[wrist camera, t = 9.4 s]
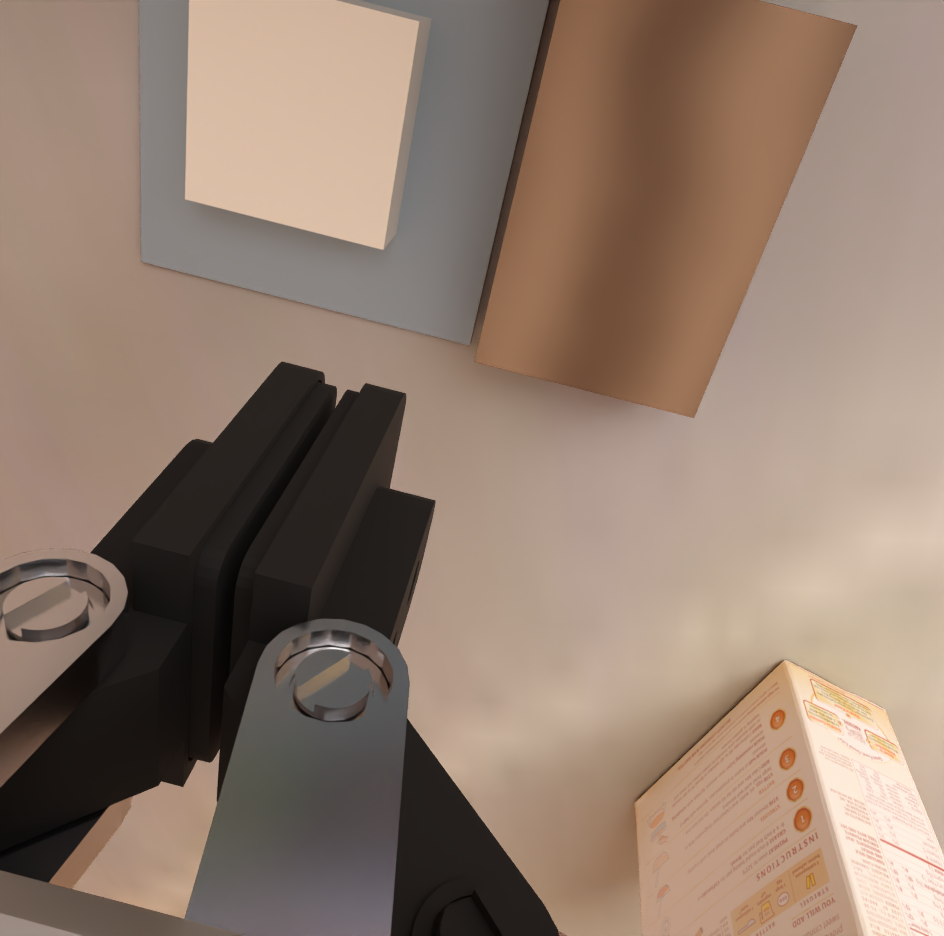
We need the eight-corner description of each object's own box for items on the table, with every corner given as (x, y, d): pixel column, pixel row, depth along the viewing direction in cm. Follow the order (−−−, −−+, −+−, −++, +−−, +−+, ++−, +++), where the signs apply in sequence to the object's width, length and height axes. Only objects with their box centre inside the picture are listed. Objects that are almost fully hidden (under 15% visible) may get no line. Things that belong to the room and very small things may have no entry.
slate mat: (568, -82, 27) (568, -83, 27) (470, 343, 36) (469, 345, 36) (141, -191, 27) (137, -193, 27) (144, 259, 36) (141, 261, 36)
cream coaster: (190, -38, 27) (218, -36, 29) (185, 199, 31) (209, 186, 33) (419, 21, 27) (431, 18, 29) (383, 250, 31) (396, 233, 33)
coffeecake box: (725, 844, 51) (786, 1255, 35) (629, 801, 50) (645, 1202, 34) (892, 708, 44) (1073, 1152, 27) (783, 654, 43) (901, 1079, 26)
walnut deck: (825, 19, 28) (857, 25, 25) (684, 376, 35) (693, 417, 32) (574, -45, 28) (571, -48, 25) (486, 325, 35) (474, 362, 32)
